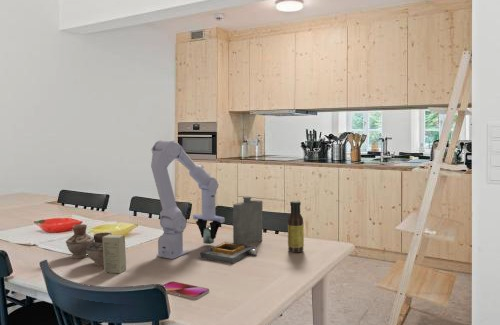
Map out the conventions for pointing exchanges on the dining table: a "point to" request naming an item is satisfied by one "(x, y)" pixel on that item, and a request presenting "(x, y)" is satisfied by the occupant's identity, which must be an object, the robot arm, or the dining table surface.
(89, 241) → the pottery
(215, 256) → the grey square hole board
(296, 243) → the sauce bottle
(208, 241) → the spout can
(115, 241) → the skincare box
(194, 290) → the smartphone
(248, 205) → the hip flask
